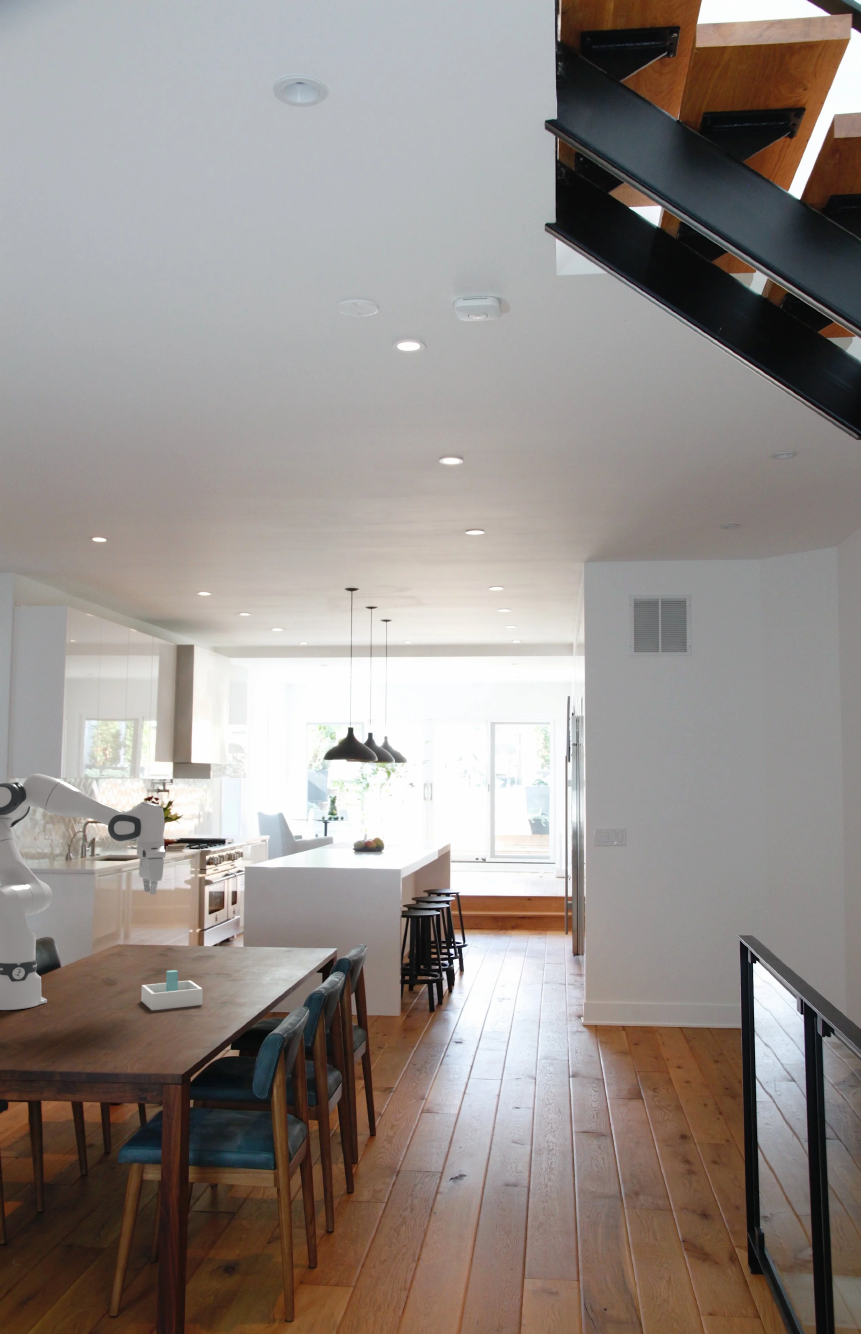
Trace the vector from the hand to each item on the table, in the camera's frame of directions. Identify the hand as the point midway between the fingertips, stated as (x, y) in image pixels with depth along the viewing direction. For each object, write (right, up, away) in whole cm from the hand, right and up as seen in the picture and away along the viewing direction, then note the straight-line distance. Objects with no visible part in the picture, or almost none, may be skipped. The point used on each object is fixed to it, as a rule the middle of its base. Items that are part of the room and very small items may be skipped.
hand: (149, 893), depth 346 cm
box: (+10, -33, -12) cm, 36 cm away
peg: (+10, -33, -12) cm, 36 cm away
